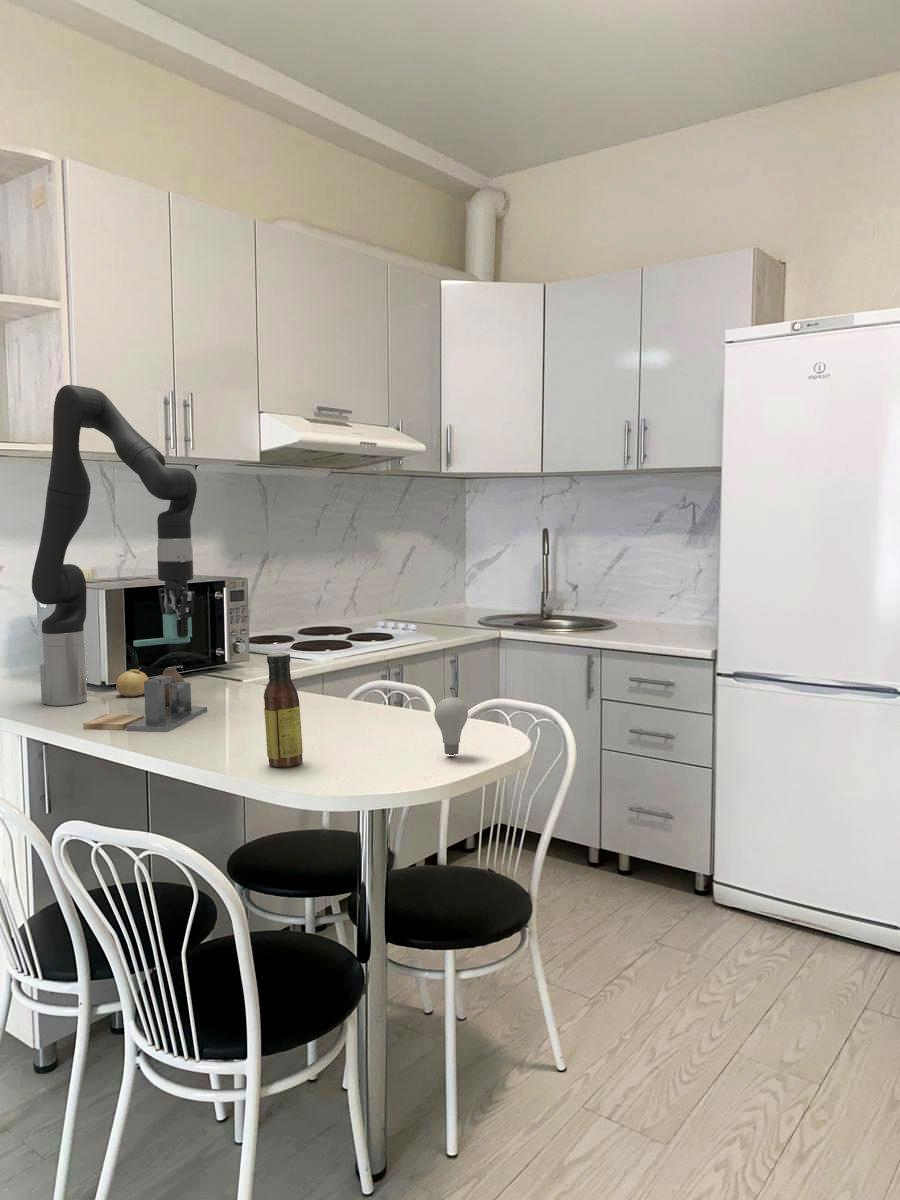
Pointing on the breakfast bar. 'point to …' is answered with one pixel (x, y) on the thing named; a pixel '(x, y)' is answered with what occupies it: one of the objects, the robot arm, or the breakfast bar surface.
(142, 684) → the onion
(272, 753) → the sauce bottle
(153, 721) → the post
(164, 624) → the teal block with handle
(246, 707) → the breakfast bar surface
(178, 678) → the vase
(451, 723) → the lightbulb
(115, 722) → the wooden coaster
